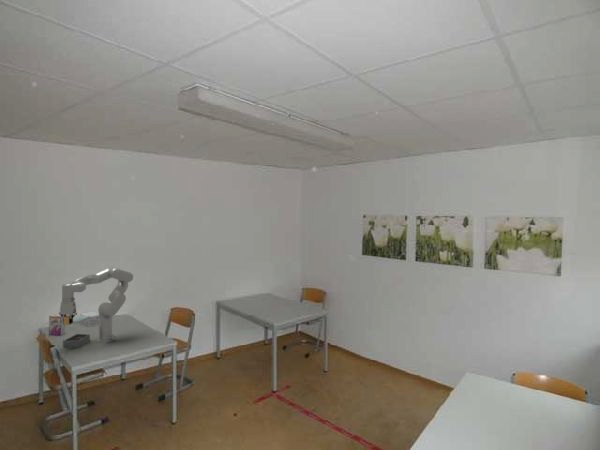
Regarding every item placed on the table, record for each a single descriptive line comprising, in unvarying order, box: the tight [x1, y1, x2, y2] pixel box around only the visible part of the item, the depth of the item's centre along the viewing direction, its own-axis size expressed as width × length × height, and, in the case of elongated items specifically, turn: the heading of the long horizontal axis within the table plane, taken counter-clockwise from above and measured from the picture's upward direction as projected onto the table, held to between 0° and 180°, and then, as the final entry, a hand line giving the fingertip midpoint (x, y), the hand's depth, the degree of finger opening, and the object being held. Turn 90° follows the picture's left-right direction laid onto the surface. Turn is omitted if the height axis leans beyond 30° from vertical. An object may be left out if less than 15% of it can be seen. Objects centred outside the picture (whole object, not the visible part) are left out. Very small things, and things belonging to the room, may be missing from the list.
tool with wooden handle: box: [64, 315, 90, 326], centre depth 280 cm, size 21×10×7 cm, turn 178°
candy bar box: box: [48, 314, 66, 336], centre depth 305 cm, size 11×5×16 cm, turn 84°
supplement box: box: [79, 311, 99, 328], centre depth 336 cm, size 17×13×9 cm
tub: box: [62, 333, 91, 349], centre depth 283 cm, size 16×11×6 cm
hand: (68, 322), depth 272 cm, fingers closed on tool with wooden handle, 4 cm apart
